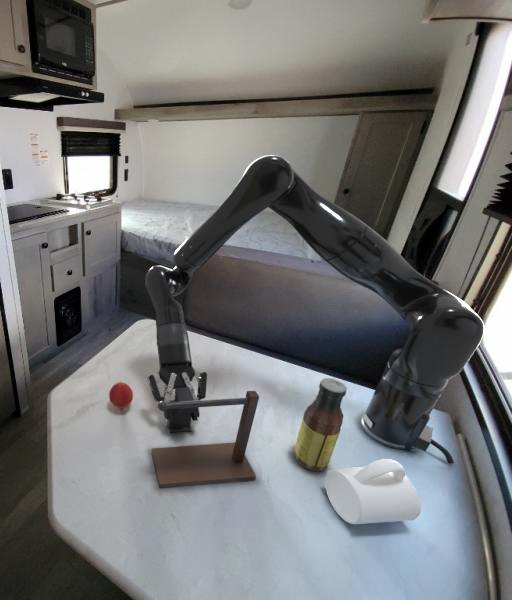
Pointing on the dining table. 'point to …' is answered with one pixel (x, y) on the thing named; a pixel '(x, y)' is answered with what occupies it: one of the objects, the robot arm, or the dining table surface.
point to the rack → (207, 450)
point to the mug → (373, 493)
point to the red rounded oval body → (121, 395)
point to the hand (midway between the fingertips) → (182, 420)
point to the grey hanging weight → (181, 412)
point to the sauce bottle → (321, 426)
